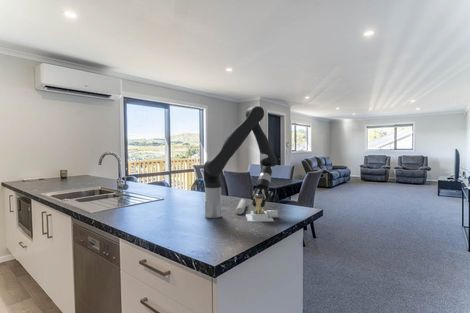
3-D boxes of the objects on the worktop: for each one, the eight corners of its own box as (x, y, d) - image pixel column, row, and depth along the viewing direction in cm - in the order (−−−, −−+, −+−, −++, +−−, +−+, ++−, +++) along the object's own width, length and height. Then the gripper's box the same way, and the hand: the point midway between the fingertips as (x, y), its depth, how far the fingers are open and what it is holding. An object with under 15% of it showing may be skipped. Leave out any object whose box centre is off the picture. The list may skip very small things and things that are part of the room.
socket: (247, 221, 141) (247, 213, 141) (245, 215, 155) (245, 208, 155) (280, 221, 142) (280, 213, 142) (274, 214, 156) (274, 207, 156)
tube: (244, 208, 156) (248, 200, 180) (236, 205, 156) (240, 197, 181) (242, 217, 156) (245, 207, 181) (233, 214, 157) (238, 204, 181)
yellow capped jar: (254, 215, 146) (254, 195, 145) (253, 213, 151) (253, 193, 151) (264, 215, 146) (264, 195, 146) (263, 213, 152) (263, 193, 151)
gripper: (251, 177, 157) (244, 201, 147) (274, 178, 152) (269, 203, 141) (253, 185, 163) (247, 209, 152) (276, 186, 157) (271, 211, 146)
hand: (258, 206), depth 147 cm, fingers closed on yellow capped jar, 4 cm apart
